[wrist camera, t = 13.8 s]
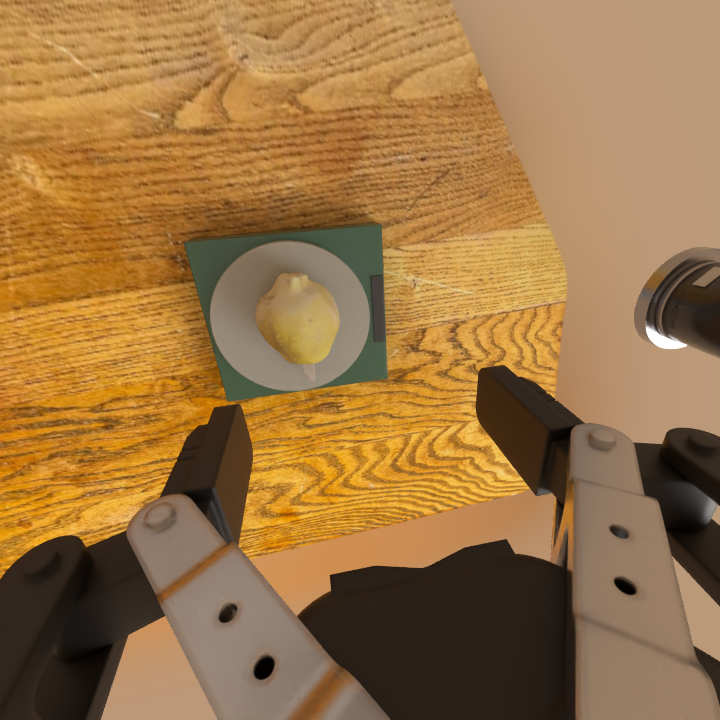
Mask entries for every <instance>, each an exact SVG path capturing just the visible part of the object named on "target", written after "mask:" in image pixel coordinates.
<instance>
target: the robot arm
mask: <svg viewBox="0 0 720 720" xmlns="http://www.w3.org/2000/svg"><path fill="white" fill-rule="evenodd" d="M656 325H657V328H658V331H659V332H660V333H661V335H663V336H664V337H666V338H668V339H671V340H673V341H678V342H681V343H683V344H686V345H688V346H691V347H693V348H696V349H698V350H700V351H703V352H705V353H708V354H710V355H713V356H716V357H718V358H720V262H718V261H706V262H702V263H699V264H696V265H694V266H692V267H690V268H689V269H687V270H686V271H684V272H683V273H682V274H680V275H679V276H678V277H677V278H676V279H675V280H674V281H673V282H672V283H671V284H670V286H669V287H668V288H667V290H666V291H665V293H664V294H663V296H662V298H661V300H660V302H659V305H658V308H657V312H656ZM476 413H477V417H478V420H479V422H480V424H481V426H482V427H483V428H484V429H485V431H486V432H487V433H488V435H489V436H490V437H491V438H492V440H493V441H494V442H495V444H496V445H497V446H498V448H499V449H500V450H501V451H502V453H503V454H504V455H505V457H506V458H507V459H508V460H509V462H510V463H511V464H512V466H513V467H514V468H515V469H516V471H517V472H518V473H519V475H520V476H521V477H522V478H523V480H524V481H525V482H526V484H527V485H528V486H529V488H530V489H531V490H532V491H533V493H534V494H535V495H536V496H540V495H545V494H550V493H553V494H554V496H555V497H556V501H555V505H554V516H553V531H552V545H551V558H550V562H549V561H546V560H543V559H540V558H536V557H533V556H528V555H522V554H515V553H514V551H513V549H512V548H511V546H510V544H509V543H508V541H507V539H505V540H500V541H495V542H490V543H485V544H480V545H475V546H470V547H465V548H463V549H461V550H459V551H457V552H455V553H453V554H451V555H449V556H447V557H445V558H444V559H442V560H440V561H438V562H436V563H434V564H432V565H430V566H428V567H425V568H408V567H389V566H371V567H366V568H362V569H357V570H352V571H347V572H343V573H337V574H333V575H330V582H331V591H330V592H328V593H326V594H324V595H322V596H321V597H319V598H318V599H316V600H315V601H313V602H312V603H311V604H310V605H308V606H307V607H306V608H305V609H304V610H302V611H301V613H300V614H299V615H298V616H296V615H295V614H294V613H293V611H292V610H291V609H290V608H289V607H288V605H287V604H286V603H285V602H284V601H283V599H282V598H281V597H280V596H279V595H278V593H277V592H276V591H275V590H274V589H273V587H272V586H271V585H270V584H269V583H268V581H267V580H266V579H265V578H264V577H263V575H262V574H261V573H260V572H259V571H258V569H257V568H256V567H255V566H254V565H253V564H252V562H251V561H250V560H249V559H248V557H247V556H246V555H245V554H244V553H243V551H242V550H241V549H240V548H239V547H238V544H239V539H240V533H241V527H242V521H243V515H244V509H245V503H246V497H247V491H248V486H249V480H250V474H251V468H252V462H253V450H252V444H251V440H250V436H249V432H248V429H247V425H246V421H245V418H244V414H243V410H242V407H241V405H240V404H234V405H227V406H221V407H215V408H214V409H213V412H212V414H211V417H210V420H209V422H208V424H206V425H199V426H198V427H197V428H196V429H195V430H194V431H193V432H192V433H191V434H190V435H189V436H188V437H187V438H186V441H185V443H184V445H183V447H182V452H180V454H179V456H178V458H177V462H176V463H175V465H174V467H173V469H172V472H171V474H170V476H169V478H168V481H167V483H166V485H165V487H164V489H163V492H162V494H161V496H160V498H158V499H156V500H154V501H152V502H150V503H149V504H147V505H146V506H144V507H143V508H142V509H140V510H139V511H138V512H137V513H136V514H135V516H134V517H133V518H132V519H131V521H130V522H129V525H128V527H127V530H126V531H124V532H122V533H120V534H117V535H115V536H112V537H110V538H108V539H105V540H103V541H100V542H98V543H96V544H93V545H91V546H88V547H86V546H85V545H84V543H83V542H82V540H81V539H80V538H79V537H76V536H72V535H69V536H60V537H57V538H54V539H51V540H48V541H46V542H44V543H42V544H40V545H38V546H36V547H34V548H33V549H31V550H30V551H28V552H27V553H25V554H24V555H23V556H22V557H20V558H19V559H18V560H17V561H16V562H15V563H14V564H13V565H12V566H11V567H10V568H9V569H8V570H7V571H6V573H5V574H4V575H3V577H2V578H1V579H0V720H101V717H102V714H103V711H104V708H105V704H106V701H107V698H108V696H109V692H110V689H111V686H112V683H113V680H114V677H115V674H116V671H117V668H118V665H119V662H120V659H121V656H122V653H123V650H124V646H125V643H126V640H127V638H128V635H129V634H131V633H133V632H135V631H137V630H139V629H141V628H143V627H144V626H146V625H148V624H150V623H152V622H154V621H156V620H158V619H160V618H162V617H164V616H166V618H167V620H168V622H169V624H170V626H171V628H172V630H173V631H174V634H175V636H176V638H177V639H178V642H179V644H180V646H181V648H182V650H183V652H184V654H185V656H186V658H187V660H188V662H189V664H190V666H191V668H192V669H193V671H194V673H195V675H196V677H197V679H198V681H199V683H200V685H201V687H202V689H203V691H204V693H205V695H206V697H207V699H208V701H209V703H210V705H211V707H212V709H213V711H214V713H215V715H216V717H217V719H218V720H720V662H719V661H718V660H716V659H714V658H713V657H711V656H710V655H708V654H706V653H705V652H703V651H702V650H700V649H698V648H697V647H695V646H693V643H692V639H691V634H690V630H689V626H688V622H687V618H686V614H685V610H684V605H683V601H682V597H681V593H680V589H679V584H678V580H677V576H676V572H675V568H674V564H673V559H672V556H673V557H674V558H675V560H676V561H678V563H679V564H680V565H681V566H682V567H683V568H684V569H685V570H686V571H687V572H688V573H689V574H690V575H691V576H692V577H693V578H694V580H696V582H697V583H698V584H699V585H700V586H701V587H702V588H703V589H704V590H705V591H706V592H707V593H708V594H709V595H710V596H711V598H712V599H714V601H715V602H716V603H717V604H718V605H719V606H720V525H718V524H717V523H716V522H715V521H714V520H712V519H711V518H712V516H713V514H714V512H715V510H716V508H717V506H718V505H719V506H720V437H718V436H716V435H714V434H711V433H708V432H705V431H702V430H697V429H692V428H691V429H690V428H675V429H671V430H669V431H668V432H667V433H666V436H665V438H664V441H663V444H648V443H633V442H632V440H631V439H630V438H629V437H627V436H626V435H625V434H623V433H622V432H620V431H618V430H616V429H614V428H611V427H608V426H604V425H600V424H592V423H588V424H585V423H584V422H583V421H581V420H580V419H579V418H578V417H576V416H575V415H574V414H573V413H572V412H570V411H569V410H568V409H567V408H565V407H564V406H563V405H562V404H561V403H559V402H558V401H555V399H554V398H553V397H552V396H551V395H550V394H547V393H546V391H545V390H543V389H542V388H541V387H540V386H539V385H537V384H536V383H534V382H532V381H530V380H527V379H525V378H523V377H518V376H517V375H515V374H514V373H513V372H512V371H511V370H510V369H508V368H507V367H506V366H504V365H500V366H493V367H486V368H481V369H480V371H479V374H478V385H477V398H476Z"/></svg>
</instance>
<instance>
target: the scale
mask: <svg viewBox="0 0 720 720" xmlns="http://www.w3.org/2000/svg"><path fill="white" fill-rule="evenodd" d="M184 246H185V249H186V253H187V256H188V260H189V264H190V267H191V271H192V274H193V278H194V282H195V285H196V289H197V292H198V296H199V300H200V303H201V307H202V310H203V314H204V318H205V321H206V325H207V328H208V332H209V336H210V339H211V343H212V346H213V350H214V354H215V357H216V361H217V364H218V368H219V372H220V375H221V379H222V382H223V386H224V390H225V393H226V397H227V400H228V401H235V400H242V399H249V398H256V397H263V396H270V395H277V394H284V393H291V392H298V391H305V390H312V389H319V388H325V387H332V386H339V385H346V384H353V383H360V382H367V381H374V380H381V379H387V378H388V376H387V351H386V326H385V301H384V276H383V251H382V226H381V224H379V223H377V222H368V223H357V224H346V225H335V226H324V227H313V228H302V229H290V230H279V231H268V232H257V233H246V234H235V235H224V236H213V237H202V238H192V239H190V240H188V241H186V242H184ZM283 273H287V274H290V273H302V274H306V275H307V277H308V279H309V280H311V281H313V282H316V283H319V284H321V285H322V286H324V287H325V288H326V289H327V290H328V291H329V293H330V294H331V295H332V296H333V298H334V300H335V303H336V305H337V308H338V312H339V319H340V324H339V328H338V331H337V334H336V337H335V339H334V342H333V344H332V346H331V349H330V352H329V354H328V355H327V356H326V357H325V358H324V359H323V360H322V361H320V362H318V363H315V364H314V367H315V380H313V381H311V380H310V379H309V378H308V377H307V375H305V374H304V372H303V370H302V367H301V364H295V363H293V364H291V363H289V362H288V361H286V360H285V359H284V358H283V357H282V356H281V354H280V353H279V352H278V351H276V350H275V349H274V348H273V347H272V346H270V344H269V343H268V342H267V341H266V340H265V339H264V337H263V336H262V334H261V332H260V331H259V329H258V326H257V324H256V317H255V314H256V307H257V304H258V301H259V299H260V297H261V296H264V295H266V294H267V293H268V292H269V291H270V290H271V289H272V287H273V286H274V284H275V282H276V280H277V278H278V276H280V275H281V274H283Z"/></svg>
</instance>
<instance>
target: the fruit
mask: <svg viewBox="0 0 720 720" xmlns="http://www.w3.org/2000/svg"><path fill="white" fill-rule="evenodd" d="M255 317H256V324H257V326H258V329H259V331H260V332H261V334H262V336H263V337H264V339H265V340H266V341H267V342H268V343H269V344H270V346H272V347H273V348H274V349H275V350H276V351H278V352H279V353H280V354H281V356H282V357H283V358H284V359H285V360H286V361H288V362H289V363H291V364H293V363H295V364H301V367H302V370H303V372H304V374H305V375H307V377H308V378H309V379H310V380H311V381H313V380H315V367H314V364H315V363H318V362H320V361H322V360H323V359H324V358H325V357H326V356H327V355H328V354H329V352H330V349H331V346H332V344H333V342H334V339H335V337H336V334H337V331H338V328H339V324H340V319H339V312H338V308H337V305H336V303H335V300H334V298H333V296H332V295H331V294H330V293H329V291H328V290H327V289H326V288H325V287H324V286H322V285H321V284H319V283H316V282H313V281H311V280H309V279H308V277H307V275H306V274H302V273H290V274H287V273H283V274H281V275H280V276H278V278H277V280H276V282H275V284H274V286H273V287H272V289H271V290H270V291H269V292H268V293H267V294H266V295H264V296H261V297H260V299H259V301H258V304H257V307H256V314H255Z"/></svg>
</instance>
